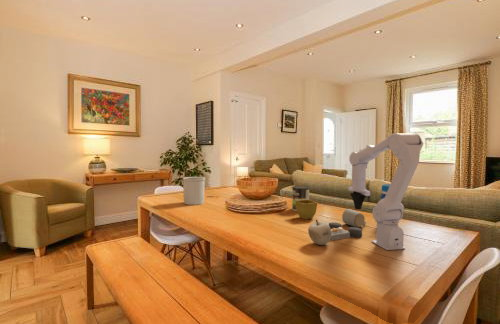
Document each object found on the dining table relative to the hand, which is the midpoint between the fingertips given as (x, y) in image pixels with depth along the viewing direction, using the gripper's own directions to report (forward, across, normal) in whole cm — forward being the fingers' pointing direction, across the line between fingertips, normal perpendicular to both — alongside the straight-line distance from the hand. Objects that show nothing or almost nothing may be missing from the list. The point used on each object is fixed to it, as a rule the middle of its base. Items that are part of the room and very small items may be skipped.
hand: (358, 209), depth 122 cm
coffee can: (+11, -46, -10) cm, 48 cm away
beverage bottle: (+11, -6, +20) cm, 23 cm away
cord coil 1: (+11, -4, -9) cm, 14 cm away
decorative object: (+11, +12, -24) cm, 28 cm away
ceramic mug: (+11, -10, +5) cm, 15 cm away
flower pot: (+11, -27, -14) cm, 32 cm away
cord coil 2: (+11, +4, -4) cm, 12 cm away
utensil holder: (+11, -78, -75) cm, 109 cm away
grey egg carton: (+11, +4, -13) cm, 17 cm away
